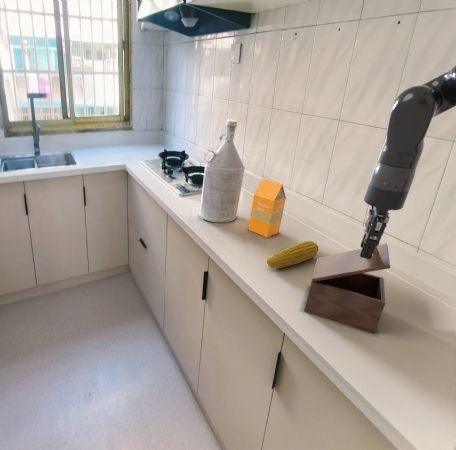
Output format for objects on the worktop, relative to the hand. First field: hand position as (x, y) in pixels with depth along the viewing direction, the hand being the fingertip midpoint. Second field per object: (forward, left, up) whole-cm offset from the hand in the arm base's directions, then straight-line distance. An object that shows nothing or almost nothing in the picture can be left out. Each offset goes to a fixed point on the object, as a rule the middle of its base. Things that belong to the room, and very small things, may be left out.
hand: (365, 252), depth 80 cm
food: (+17, -18, -17) cm, 30 cm away
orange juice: (+31, -38, -17) cm, 52 cm away
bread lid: (+2, 0, -4) cm, 4 cm away
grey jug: (+51, -41, -17) cm, 67 cm away
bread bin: (+2, 0, -17) cm, 17 cm away
